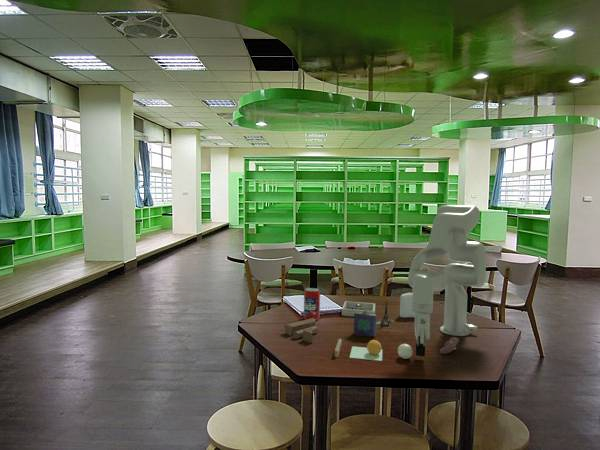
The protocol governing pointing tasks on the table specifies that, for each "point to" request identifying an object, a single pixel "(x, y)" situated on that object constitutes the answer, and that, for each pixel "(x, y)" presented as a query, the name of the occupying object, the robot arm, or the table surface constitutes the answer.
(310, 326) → the wooden block set
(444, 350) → the video game controller
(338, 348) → the stop rail
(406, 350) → the cue ball
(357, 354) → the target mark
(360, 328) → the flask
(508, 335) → the table surface
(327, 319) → the table surface
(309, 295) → the soda can
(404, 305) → the photo printer
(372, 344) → the orange ball
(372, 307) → the cup tray
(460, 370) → the table surface
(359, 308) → the grey rounded piece
